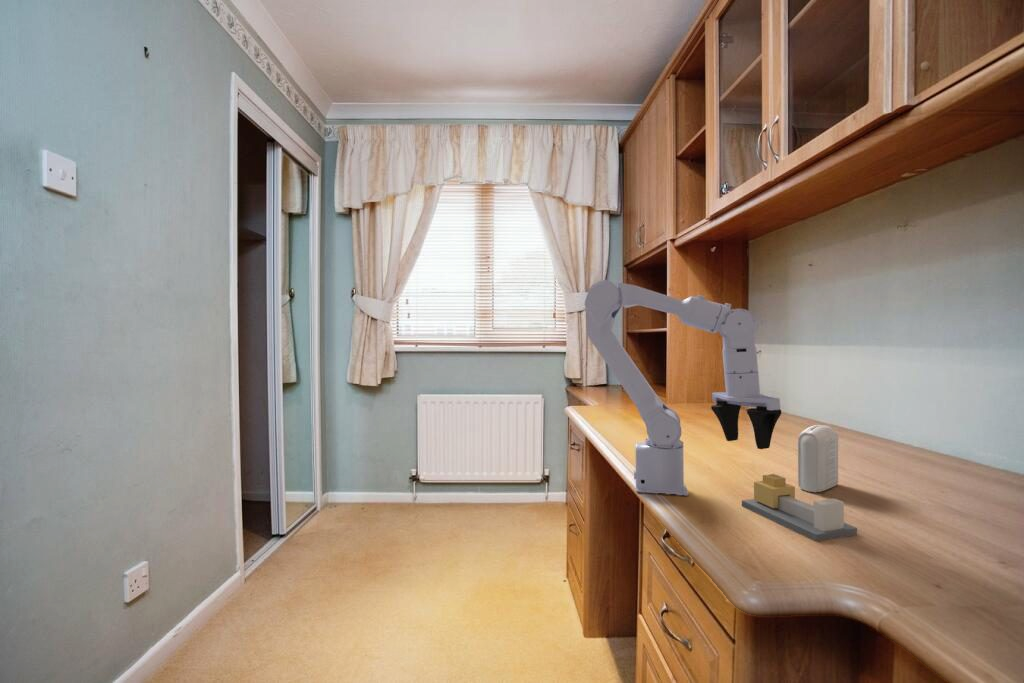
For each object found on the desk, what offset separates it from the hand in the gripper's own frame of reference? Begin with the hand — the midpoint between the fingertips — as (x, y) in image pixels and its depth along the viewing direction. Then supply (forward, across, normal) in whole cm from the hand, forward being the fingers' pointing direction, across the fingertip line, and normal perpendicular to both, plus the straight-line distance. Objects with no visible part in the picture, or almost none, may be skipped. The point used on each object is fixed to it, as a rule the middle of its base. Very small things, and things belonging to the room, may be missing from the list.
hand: (747, 444), depth 81 cm
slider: (+9, -6, +1) cm, 11 cm away
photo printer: (+11, +1, -17) cm, 21 cm away
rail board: (+10, -10, +1) cm, 14 cm away
